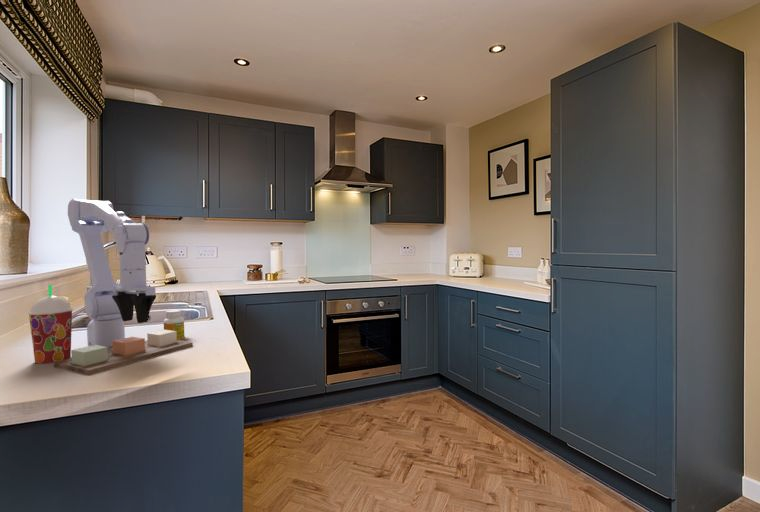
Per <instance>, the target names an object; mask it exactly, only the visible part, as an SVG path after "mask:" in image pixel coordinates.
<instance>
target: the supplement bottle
mask: <svg viewBox="0 0 760 512" xmlns="http://www.w3.org/2000/svg"><path fill="white" fill-rule="evenodd" d="M165 316H166V318H165V319H164V320H163V330H171V331H176V333H177V340H180V341H181V340H182V339H185V318H184V317H182V310H180V309H172V310H171V309H170V310H167V311H166V310H165Z"/></svg>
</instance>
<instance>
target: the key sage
mask: <svg viewBox="0 0 760 512" xmlns="http://www.w3.org/2000/svg"><path fill="white" fill-rule="evenodd" d="M108 350H109V349H108V347H104V346H99V345H92V346H88V345H87V346H84V347H78V348H75V349H71V358H72V364H76V365H80V366H87V365H90V364H94V363H98V362H102V361H106V360H108Z"/></svg>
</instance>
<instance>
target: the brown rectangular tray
mask: <svg viewBox="0 0 760 512" xmlns="http://www.w3.org/2000/svg"><path fill="white" fill-rule="evenodd" d="M193 343H194V342H192V341H186V340H181V339H180V340H177V342H176V343H172V344H168V345H164V346H160V347H158V346H152V345H148V339H147V340H145V351H141V352H137V353H133V354H129V355H125V356H124V355H118V354H113V348H109V349H107V350H108V360H106V361H102V362H98V363H94V364H90V365H87V366H80V365H76V364H72V357H71V358H69V359H66V360H62V361H58V362H54V363H53V367H54V368H57V369H61V370H65V371H69V372H73V373H78V374H83V375H86V376H91V375H93V374H94V375H95V374H97V373H101V372H105V371H108V370H113V369H115V368H119V367H123V366H125V365H126V366H127V365H130V364H134V363H136V362H137V363H138V362H140V361H141V362H142V361H144V360H147V359H152V358H155V357H159V356H162V355H166V354H170V353H173V352H176V351H181V350H184V349H187V348H191V347H193V346H194V344H193Z"/></svg>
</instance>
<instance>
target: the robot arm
mask: <svg viewBox="0 0 760 512" xmlns="http://www.w3.org/2000/svg"><path fill="white" fill-rule="evenodd" d="M67 217H68V221H69V225H70V226H71V230H72V231H73V232H75V233H76V234H78V235H79V238H80V242H81V246H82V250H83V253H84V257H85V261H86V264H87V268H88V272H89V275H90V279H91V282H92V286H91V288H89V289H88V290H86V292H85V294H84V296H83V300H84V313H85V315H86V316H87V318H89V319H90V321H89V323H88V324H87V326H86V336H87V338H86V339H87V347H88V346H92V345H99V346H104V347H107V348H111V347H112V348H113V342H112V341H115V340H120V339H124V338H126V331H125V328H126V327H125V322H129V321H132V320H133V319H134V311H135V316H136V320H137V323H138V324H143V323H148V319H149V315H150V313H151V308H152V306H153V304H154V302H155V300H156V299H157V295H156V286H151V285H147V266H146V265H147V264H146V263H147V262H146V260H147V259H146V258H147V257H146V245H147V244H148V243H149V240H150V230H149V227H148V225H146V223H145V222H140V223H136V222H135V221H134V220H133V219H132V218H129V216H127V215H126V213H125V212H124V211H115V210H114V205H113V203H112V202H111V201H110V200H91V199H78V198H72V199H71V200H70V201H69V202H68V204H67ZM108 231H109V232H110V233H111V234H112V235H113V236H114V237H113V239H114V242H115V244H116V250H117V253H119V276H120V279H119V280H120V284H118V283H117V282H115V281H114V278H113V275H112V271H111V268H110V264H109V261H108V257H107V252H106V249H105V247H104V243H103V239H102V234H105V233H106V232H108ZM134 309H135V310H134Z"/></svg>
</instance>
